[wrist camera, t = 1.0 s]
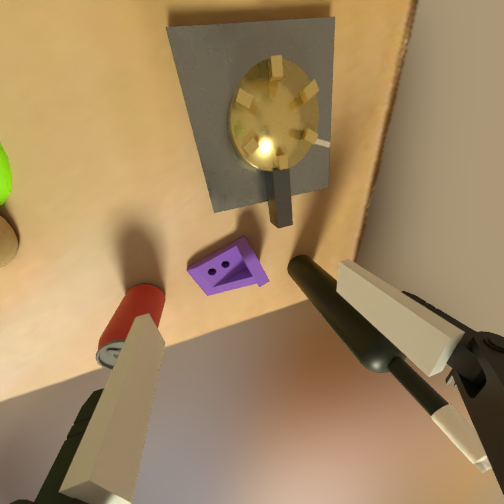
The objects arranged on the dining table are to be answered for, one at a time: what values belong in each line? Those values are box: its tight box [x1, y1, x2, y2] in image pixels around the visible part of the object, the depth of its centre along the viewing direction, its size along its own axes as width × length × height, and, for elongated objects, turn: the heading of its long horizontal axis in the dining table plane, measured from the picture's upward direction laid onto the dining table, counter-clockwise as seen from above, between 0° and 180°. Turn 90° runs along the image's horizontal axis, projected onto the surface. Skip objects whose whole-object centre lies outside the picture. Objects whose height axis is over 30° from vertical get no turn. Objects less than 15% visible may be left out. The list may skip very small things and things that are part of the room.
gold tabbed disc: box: [228, 55, 319, 228], centre depth 24 cm, size 19×11×5 cm, turn 9°
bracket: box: [187, 236, 269, 296], centre depth 32 cm, size 12×7×7 cm, turn 116°
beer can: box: [96, 284, 165, 370], centre depth 28 cm, size 7×7×12 cm
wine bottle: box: [288, 255, 492, 473], centre depth 26 cm, size 6×6×30 cm
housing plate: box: [166, 17, 335, 213], centre depth 26 cm, size 20×20×2 cm
